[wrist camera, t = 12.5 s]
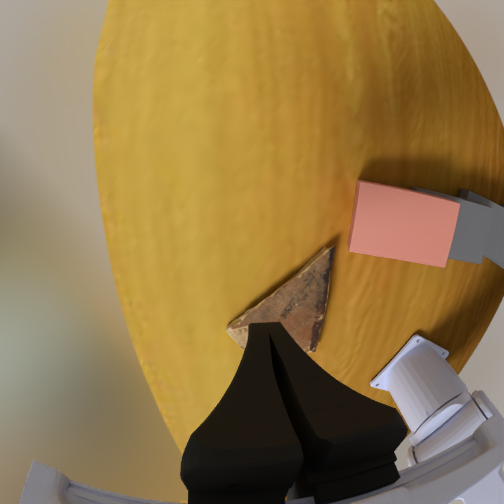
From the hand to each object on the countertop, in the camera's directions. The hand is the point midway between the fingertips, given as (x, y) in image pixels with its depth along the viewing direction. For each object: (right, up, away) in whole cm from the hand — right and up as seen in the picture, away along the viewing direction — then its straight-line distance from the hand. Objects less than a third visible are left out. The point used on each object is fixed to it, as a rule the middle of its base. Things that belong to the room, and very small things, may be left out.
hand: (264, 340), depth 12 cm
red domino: (+7, +6, +7) cm, 12 cm away
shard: (+1, -1, +11) cm, 11 cm away
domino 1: (+12, +7, +8) cm, 16 cm away
